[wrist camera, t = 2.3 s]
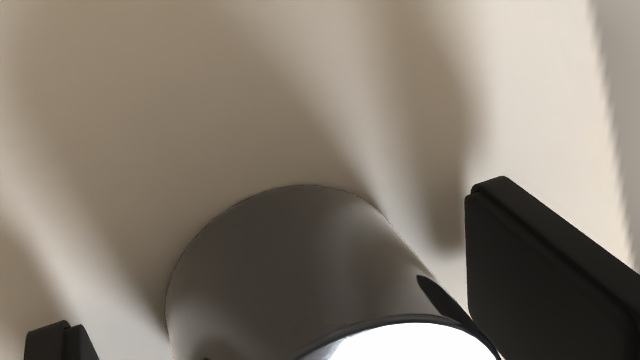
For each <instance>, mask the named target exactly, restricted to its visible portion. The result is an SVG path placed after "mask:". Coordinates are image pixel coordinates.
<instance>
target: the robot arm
mask: <svg viewBox="0 0 640 360" xmlns="http://www.w3.org/2000/svg"><path fill="white" fill-rule="evenodd" d="M464 209H465V238H466V266H467V295H468V309H469V313H470V315H471V318H472V320H473V322H474V323H475V324H476V325H477V326H478V328H479V329H480V330H481V331H482V332H483V333H484V335H485V336H486V337H487V338H488V339H489V341H490V342H491V343H492V344H493V346H494V347H495V348H496V349H497V350H498V352H499V353H500V354H501V355H502V356H503V357H504V359H505V360H640V275H639V274H638V273H636V272H635V271H633V270H632V269H631V268H629V267H628V266H627V265H625V264H624V263H623V262H621V261H620V260H619V259H617V258H616V257H615V256H613V255H612V254H611V253H609V252H608V251H606V250H605V249H604V248H602V247H601V246H600V245H598V244H597V243H596V242H594V241H593V240H592V239H590V238H589V237H588V236H586V235H585V234H583V233H582V232H581V231H579V230H578V229H577V228H575V227H574V226H573V225H571V224H570V223H569V222H567V221H566V220H565V219H563V218H562V217H560V216H559V215H558V214H556V213H555V212H554V211H552V210H551V209H550V208H548V207H547V206H546V205H544V204H543V203H542V202H540V201H539V200H537V199H536V198H535V197H533V196H532V195H531V194H529V193H528V192H527V191H525V190H524V189H523V188H521V187H520V186H519V185H517V184H516V183H514V182H513V181H512V180H510V179H509V178H507V177H505V176H499V177H496V178H493V179H490V180H487V181H484V182H481V183H478V184H475V185H474V186H473V187H472V189H471V194H470V195H467V196H466V197H465V201H464ZM24 360H99V358H98V356H97V354H96V351H95V349H94V347H93V345H92V343H91V341H90V339H89V336H88V334H87V332H86V330H85V328H84V327H83V325H81V324H80V325H77V326H74V327H71V326H70V324H69V323H68V322H67V321H66V320H63V321H60V322H57V323H54V324H51V325H48V326H45V327H42V328H39V329H36V330H33V331H30V332H28V333H27V336H26V342H25V351H24Z"/></svg>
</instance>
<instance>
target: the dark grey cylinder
mask: <svg viewBox="0 0 640 360" xmlns="http://www.w3.org/2000/svg"><path fill="white" fill-rule="evenodd" d="M165 314H166V324H167V329H168V335H169V340H170V345H171V351H172V356H173V360H501V358H500V356H499V354H498V352H497V350H496V348H495V347H494V346H493V344H492V343H491V342H490V341H489V339H488V338H487V337H486V336H485V335H484V333H483V332H482V331H481V330H480V329H479V328H478V326H477V325H476V324H475V323H474V322H473V321H472V319H471V318H470V317H469V316H468V315H467V314H466V312H465V311H464V310H463V309H462V308H461V307H460V305H459V304H458V303H457V302H456V301H455V299H454V298H453V297H452V296H451V295H450V294H449V292H448V291H447V290H446V289H445V288H444V287H443V285H442V284H441V283H440V282H439V281H438V280H437V278H436V277H435V276H434V275H433V274H432V273H431V271H430V270H429V269H428V268H427V267H426V266H425V264H424V263H423V262H422V261H421V260H420V259H419V257H418V256H417V255H416V254H415V253H414V252H413V250H412V249H411V248H410V247H409V246H408V245H407V243H406V242H405V241H404V240H403V239H402V237H401V236H400V235H399V234H398V233H397V232H396V230H395V229H394V228H393V227H392V226H391V225H390V223H389V222H388V221H387V220H386V219H385V218H384V216H383V215H382V214H381V213H380V212H379V211H378V210H377V209H376V208H374V207H373V206H372V205H371V204H370V203H368V202H366V201H365V200H363V199H362V198H360V197H358V196H356V195H353V194H351V193H349V192H346V191H343V190H339V189H335V188H331V187H323V186H315V185H306V186H291V187H283V188H279V189H275V190H271V191H267V192H264V193H261V194H259V195H256V196H253V197H250V198H248V199H246V200H244V201H242V202H240V203H238V204H236V205H234V206H233V207H231V208H230V209H228V210H227V211H225V212H224V213H222V214H221V215H219V216H218V217H217V218H215V219H214V220H213V221H212V222H211V223H209V224H208V225H207V226H206V227H205V228H204V229H203V230H202V231H201V232H200V233H199V234H198V235H197V236H196V237H195V238H194V239H193V241H192V242H191V243H190V245H189V246H188V247H187V249H186V250H185V251H184V253H183V255H182V257H181V258H180V260H179V262H178V264H177V265H176V267H175V270H174V272H173V275H172V277H171V280H170V282H169V287H168V291H167V295H166V306H165Z"/></svg>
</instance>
